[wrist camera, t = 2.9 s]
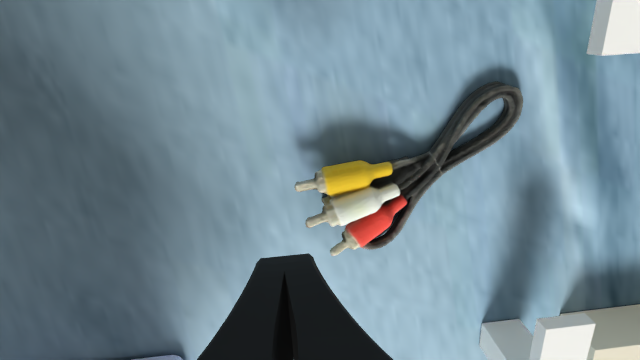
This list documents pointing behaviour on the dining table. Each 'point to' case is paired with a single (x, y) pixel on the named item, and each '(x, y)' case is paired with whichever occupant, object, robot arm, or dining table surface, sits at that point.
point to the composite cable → (403, 175)
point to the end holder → (614, 333)
